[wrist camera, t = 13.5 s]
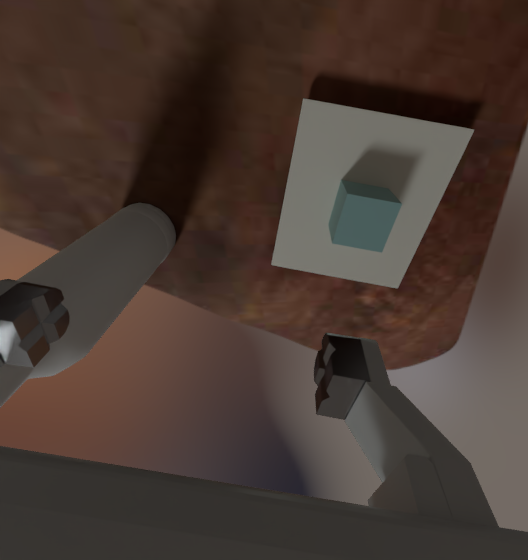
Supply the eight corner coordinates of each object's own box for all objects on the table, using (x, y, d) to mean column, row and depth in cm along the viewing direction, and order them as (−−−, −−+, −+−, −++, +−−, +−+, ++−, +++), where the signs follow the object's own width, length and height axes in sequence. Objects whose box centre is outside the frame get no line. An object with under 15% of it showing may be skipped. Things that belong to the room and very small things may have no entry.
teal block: (341, 179, 31) (347, 193, 27) (388, 188, 31) (402, 203, 27) (328, 224, 34) (332, 243, 30) (371, 232, 34) (381, 252, 30)
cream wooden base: (303, 97, 30) (303, 98, 28) (460, 126, 30) (474, 129, 28) (273, 253, 40) (271, 265, 37) (391, 275, 40) (397, 288, 37)
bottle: (132, 188, 37) (-224, 396, 12) (187, 226, 39) (-19, 473, 14) (110, 234, 41) (-195, 466, 16) (161, 267, 43) (-38, 518, 18)
